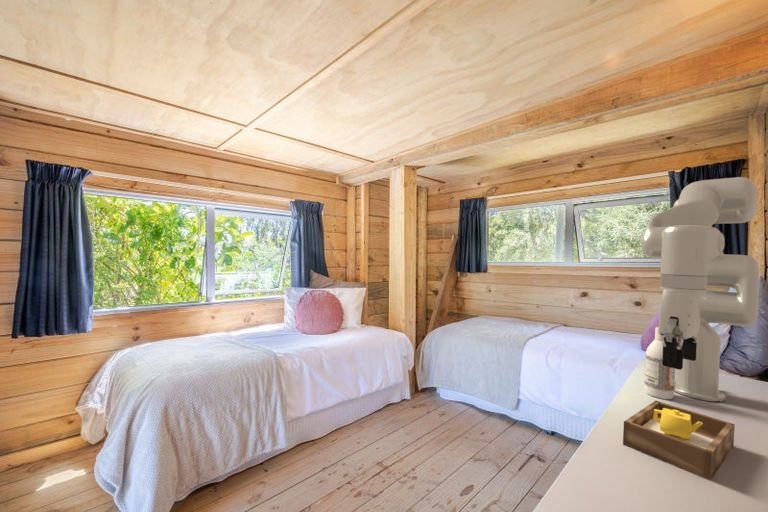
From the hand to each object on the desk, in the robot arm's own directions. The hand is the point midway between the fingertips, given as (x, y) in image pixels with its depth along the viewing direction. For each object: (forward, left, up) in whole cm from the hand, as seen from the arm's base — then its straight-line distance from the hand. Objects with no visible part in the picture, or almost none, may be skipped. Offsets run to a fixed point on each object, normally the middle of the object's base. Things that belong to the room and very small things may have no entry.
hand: (679, 363), depth 74 cm
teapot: (0, 0, -16) cm, 16 cm away
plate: (0, 0, -18) cm, 18 cm away
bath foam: (-33, -12, -19) cm, 39 cm away
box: (-2, 0, -18) cm, 18 cm away
